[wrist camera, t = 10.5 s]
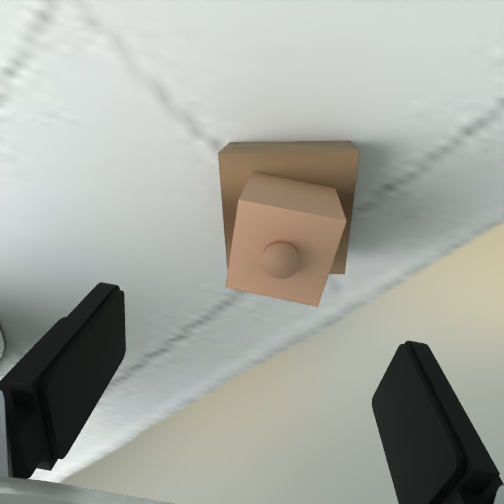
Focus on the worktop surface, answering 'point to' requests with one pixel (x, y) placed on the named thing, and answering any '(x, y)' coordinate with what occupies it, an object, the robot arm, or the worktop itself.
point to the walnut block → (290, 177)
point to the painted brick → (285, 238)
